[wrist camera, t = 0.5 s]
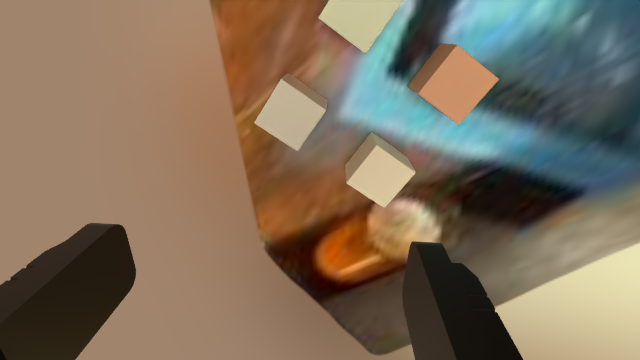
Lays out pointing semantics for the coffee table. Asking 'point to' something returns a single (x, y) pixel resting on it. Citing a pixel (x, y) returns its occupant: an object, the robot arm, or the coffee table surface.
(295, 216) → the coffee table surface
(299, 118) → the beige cube
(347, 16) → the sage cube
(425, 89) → the terracotta cube
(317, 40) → the coffee table surface
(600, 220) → the coffee table surface
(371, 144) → the cream cube
